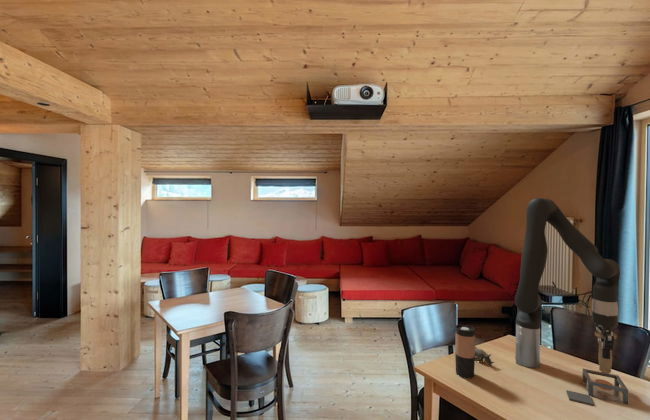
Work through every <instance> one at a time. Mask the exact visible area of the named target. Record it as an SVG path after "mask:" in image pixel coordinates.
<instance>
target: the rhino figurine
mask: <svg viewBox="0 0 650 420" xmlns="http://www.w3.org/2000/svg"><path fill="white" fill-rule="evenodd" d="M491 356H492V354H488V353H487V352H486V351H485V350H483V349H481V348H478V347H476V346H475V358H476V360H477V361H480V362H481V361H483V360H484V362H486V363H487V364H488V365H489V366H491V365H492V364H494V363H495V361H492V359H491V358H490V357H491ZM477 361H476V362H477Z"/></svg>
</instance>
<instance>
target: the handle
mask: <svg viewBox="0 0 650 420" xmlns="http://www.w3.org/2000/svg"><path fill="white" fill-rule="evenodd" d="M594 335H595V337H596V338H597V337H598V338H599V339H600V338H602V339H603V340H604V337H603V335H601V334H599V331H596V330H595V331H594ZM613 336H614V340H616V339H617V334H616V333H614V332H613ZM606 346H609V345H608V344H607V345H606ZM612 351H613V350H610V359H604V358H603V357H602V342H601V341H600V342H599V343H598V357H597V358H598V359H597V360H598V368H599V369H598V371H599V372H603V373H607V374H612V373H611V372H612V366H613V352H612Z"/></svg>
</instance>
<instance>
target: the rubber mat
mask: <svg viewBox="0 0 650 420" xmlns="http://www.w3.org/2000/svg"><path fill="white" fill-rule="evenodd" d="M566 394H567V397H568V400H569V401H571V402H576V403H580V404H584V405H589V406H595V404H594V401H593V399H592V396H590V395H589V394H584V393H582V392H581V393H580V392H578V391H577V392H576V391H573V390H568V389H566Z"/></svg>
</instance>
